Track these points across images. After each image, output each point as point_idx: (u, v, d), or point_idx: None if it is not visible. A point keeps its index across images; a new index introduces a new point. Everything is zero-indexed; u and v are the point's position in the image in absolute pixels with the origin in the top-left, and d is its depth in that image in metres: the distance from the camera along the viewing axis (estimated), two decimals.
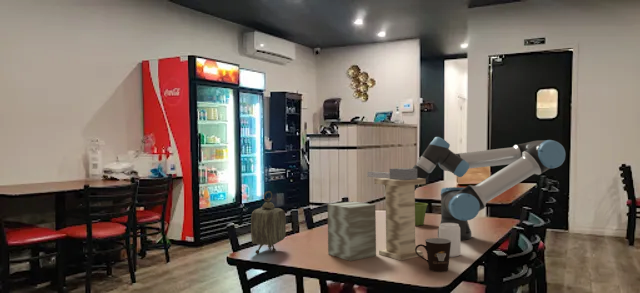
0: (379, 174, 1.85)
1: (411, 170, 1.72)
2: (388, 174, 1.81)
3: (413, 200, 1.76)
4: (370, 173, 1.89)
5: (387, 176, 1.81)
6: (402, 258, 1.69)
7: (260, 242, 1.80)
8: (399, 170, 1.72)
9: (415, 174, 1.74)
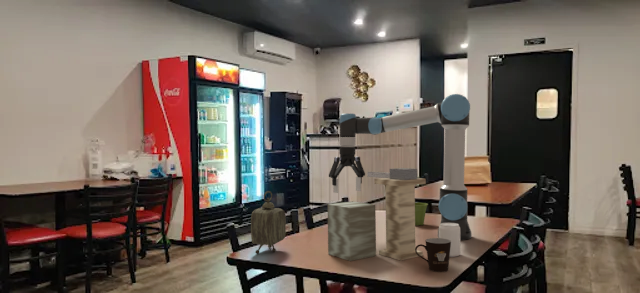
0: (379, 174, 1.85)
1: (411, 170, 1.72)
2: (388, 174, 1.81)
3: (413, 200, 1.76)
4: (370, 173, 1.89)
5: (387, 176, 1.81)
6: (402, 258, 1.69)
7: (260, 242, 1.80)
8: (399, 170, 1.72)
9: (415, 174, 1.74)
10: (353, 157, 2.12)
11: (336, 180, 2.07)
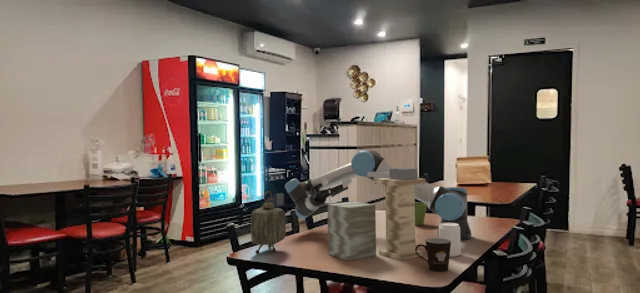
0: (379, 174, 1.85)
1: (411, 170, 1.72)
2: (388, 174, 1.81)
3: (413, 200, 1.76)
4: (370, 173, 1.89)
5: (387, 176, 1.81)
6: (402, 258, 1.69)
7: (260, 242, 1.80)
8: (399, 170, 1.72)
9: (415, 174, 1.74)
10: None
11: None
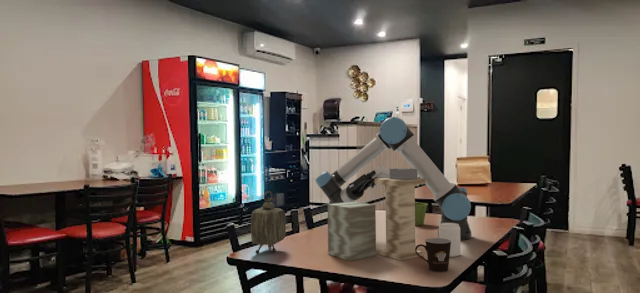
0: (379, 174, 1.85)
1: (411, 170, 1.72)
2: (388, 174, 1.81)
3: (413, 200, 1.76)
4: None
5: (387, 176, 1.81)
6: (402, 258, 1.69)
7: (260, 242, 1.80)
8: (399, 170, 1.72)
9: (415, 174, 1.74)
10: None
11: None
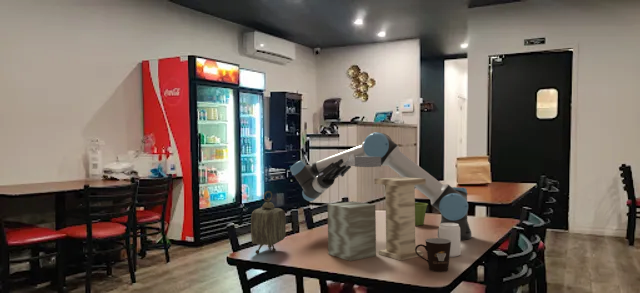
0: (346, 162, 1.92)
1: (375, 158, 1.80)
2: (354, 162, 1.88)
3: (413, 200, 1.76)
4: None
5: (353, 164, 1.88)
6: (402, 258, 1.69)
7: (260, 242, 1.80)
8: (363, 158, 1.80)
9: (379, 162, 1.81)
10: None
11: (339, 161, 1.95)
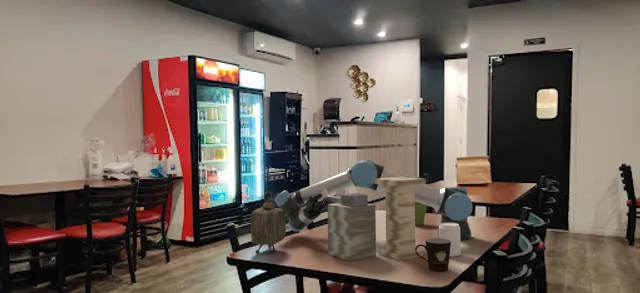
0: (332, 199, 1.86)
1: (361, 196, 1.74)
2: (340, 199, 1.82)
3: (413, 200, 1.76)
4: (325, 197, 1.91)
5: (339, 201, 1.82)
6: (402, 258, 1.69)
7: (260, 242, 1.80)
8: (349, 196, 1.74)
9: (365, 200, 1.75)
10: None
11: (318, 195, 1.88)
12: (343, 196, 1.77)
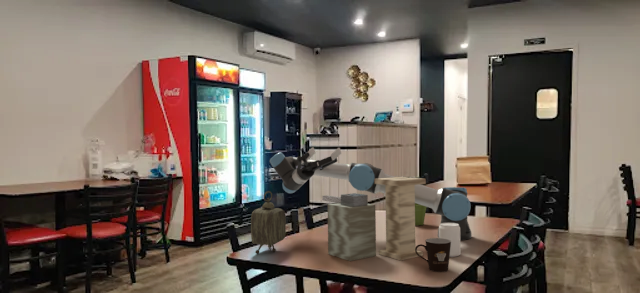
0: (332, 199, 1.86)
1: (361, 196, 1.74)
2: (340, 199, 1.82)
3: (413, 200, 1.76)
4: (325, 197, 1.91)
5: (339, 201, 1.82)
6: (402, 258, 1.69)
7: (260, 242, 1.80)
8: (349, 196, 1.74)
9: (365, 200, 1.75)
10: None
11: None
12: (343, 196, 1.77)
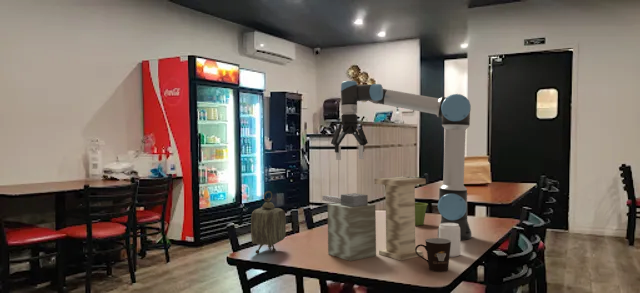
0: (332, 199, 1.86)
1: (361, 196, 1.74)
2: (340, 199, 1.82)
3: (413, 200, 1.76)
4: (325, 197, 1.91)
5: (339, 201, 1.82)
6: (402, 258, 1.69)
7: (260, 242, 1.80)
8: (349, 196, 1.74)
9: (365, 200, 1.75)
10: None
11: None
12: (343, 196, 1.77)
